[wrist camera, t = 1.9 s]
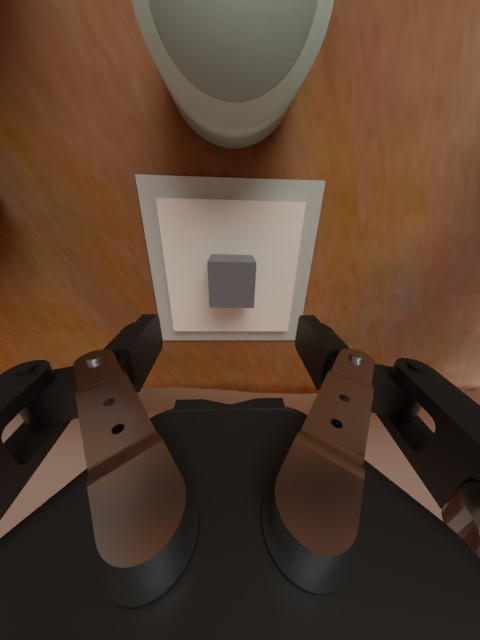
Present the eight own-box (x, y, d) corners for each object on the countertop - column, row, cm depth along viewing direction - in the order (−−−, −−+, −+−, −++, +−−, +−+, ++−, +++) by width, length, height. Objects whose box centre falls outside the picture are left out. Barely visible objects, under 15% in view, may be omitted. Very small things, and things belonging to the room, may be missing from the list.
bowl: (306, -29, 15) (366, -222, 9) (288, 155, 20) (317, 124, 14) (157, -40, 15) (95, -255, 8) (174, 151, 20) (145, 116, 13)
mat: (324, 181, 21) (325, 180, 21) (297, 339, 30) (298, 340, 29) (136, 175, 21) (135, 174, 20) (163, 339, 29) (162, 340, 29)
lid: (303, 202, 22) (324, 198, 17) (286, 327, 28) (297, 350, 24) (158, 198, 21) (136, 192, 16) (175, 327, 28) (163, 351, 23)
